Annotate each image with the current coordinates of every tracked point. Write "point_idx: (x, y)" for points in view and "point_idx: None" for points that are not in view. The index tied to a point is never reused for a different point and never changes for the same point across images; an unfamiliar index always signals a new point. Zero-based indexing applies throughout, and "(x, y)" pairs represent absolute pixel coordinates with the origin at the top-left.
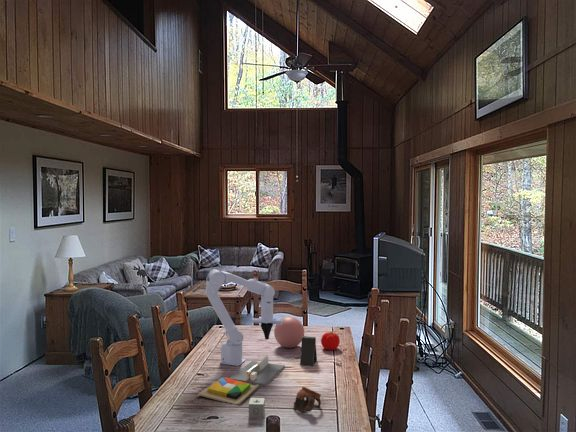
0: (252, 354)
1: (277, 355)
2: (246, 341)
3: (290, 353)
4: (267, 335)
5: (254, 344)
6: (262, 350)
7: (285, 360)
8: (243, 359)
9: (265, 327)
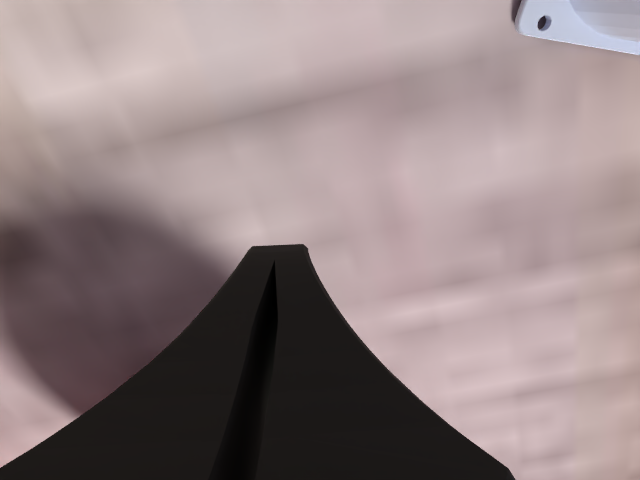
0: (457, 230)
1: (219, 256)
2: (529, 444)
3: (130, 321)
4: (240, 284)
5: (467, 414)
6: (384, 330)
7: (79, 146)
8: (545, 29)
9: (260, 473)
